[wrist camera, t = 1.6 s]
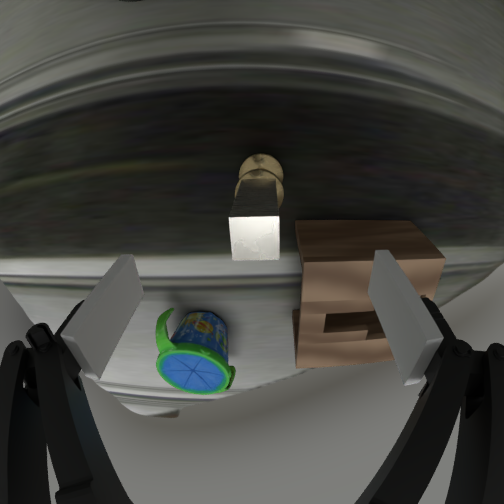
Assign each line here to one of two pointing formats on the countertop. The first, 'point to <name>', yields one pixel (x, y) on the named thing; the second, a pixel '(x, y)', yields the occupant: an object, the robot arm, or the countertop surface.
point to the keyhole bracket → (353, 287)
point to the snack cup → (195, 354)
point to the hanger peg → (257, 209)
